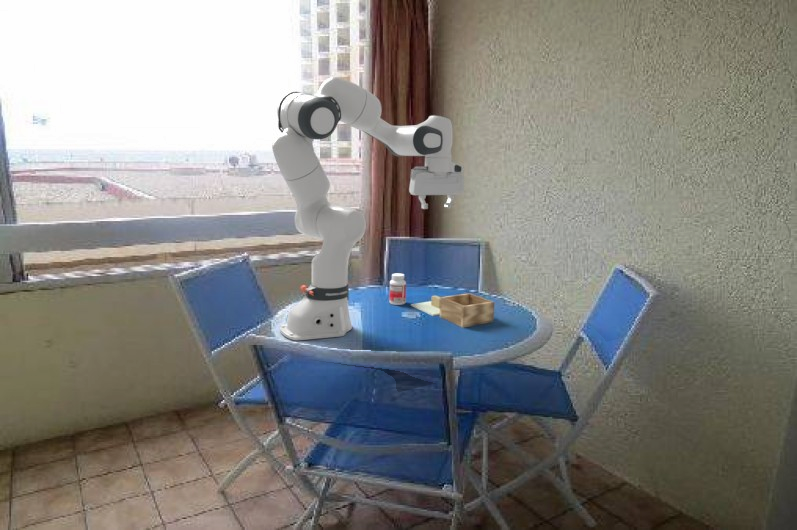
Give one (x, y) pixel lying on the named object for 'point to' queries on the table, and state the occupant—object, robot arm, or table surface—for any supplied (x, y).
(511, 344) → the table surface
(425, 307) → the lid
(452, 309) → the box
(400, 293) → the pill bottle
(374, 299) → the table surface
